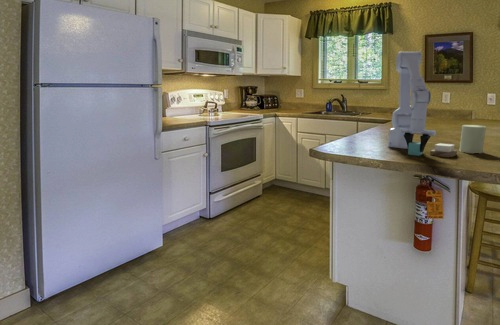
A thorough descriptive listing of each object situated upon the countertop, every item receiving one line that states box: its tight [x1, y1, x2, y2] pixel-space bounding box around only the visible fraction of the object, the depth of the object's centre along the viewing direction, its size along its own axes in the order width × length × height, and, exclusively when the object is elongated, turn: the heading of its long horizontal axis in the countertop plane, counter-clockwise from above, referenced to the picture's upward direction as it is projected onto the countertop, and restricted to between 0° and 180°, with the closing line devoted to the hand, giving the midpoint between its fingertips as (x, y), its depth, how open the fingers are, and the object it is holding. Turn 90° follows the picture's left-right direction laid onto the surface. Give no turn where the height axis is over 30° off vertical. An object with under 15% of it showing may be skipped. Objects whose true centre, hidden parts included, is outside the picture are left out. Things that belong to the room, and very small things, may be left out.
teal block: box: [407, 141, 424, 157], centre depth 158 cm, size 4×4×5 cm
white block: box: [433, 142, 455, 152], centre depth 156 cm, size 6×6×2 cm
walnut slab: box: [429, 149, 458, 158], centre depth 157 cm, size 8×8×2 cm
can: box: [459, 124, 487, 154], centre depth 163 cm, size 9×9×12 cm
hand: (415, 151), depth 158 cm, fingers closed on teal block, 4 cm apart
